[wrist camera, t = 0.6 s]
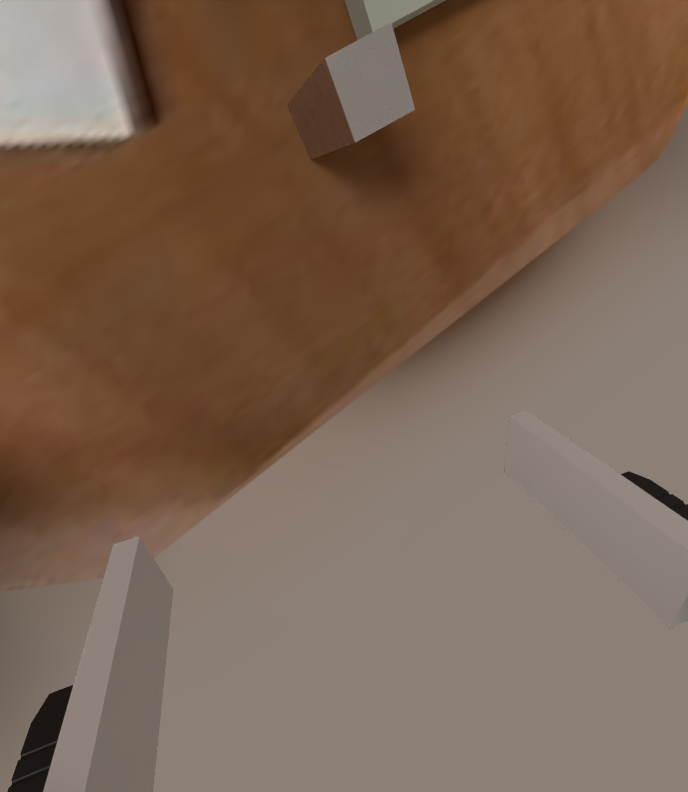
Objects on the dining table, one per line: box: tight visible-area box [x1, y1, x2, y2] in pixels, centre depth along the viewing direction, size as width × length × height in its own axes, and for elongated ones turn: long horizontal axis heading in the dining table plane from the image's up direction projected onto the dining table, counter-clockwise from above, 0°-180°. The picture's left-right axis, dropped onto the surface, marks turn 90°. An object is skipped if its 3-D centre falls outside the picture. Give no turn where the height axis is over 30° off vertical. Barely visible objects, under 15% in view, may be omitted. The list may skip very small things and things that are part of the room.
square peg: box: [287, 22, 415, 160], centre depth 26 cm, size 4×4×12 cm
